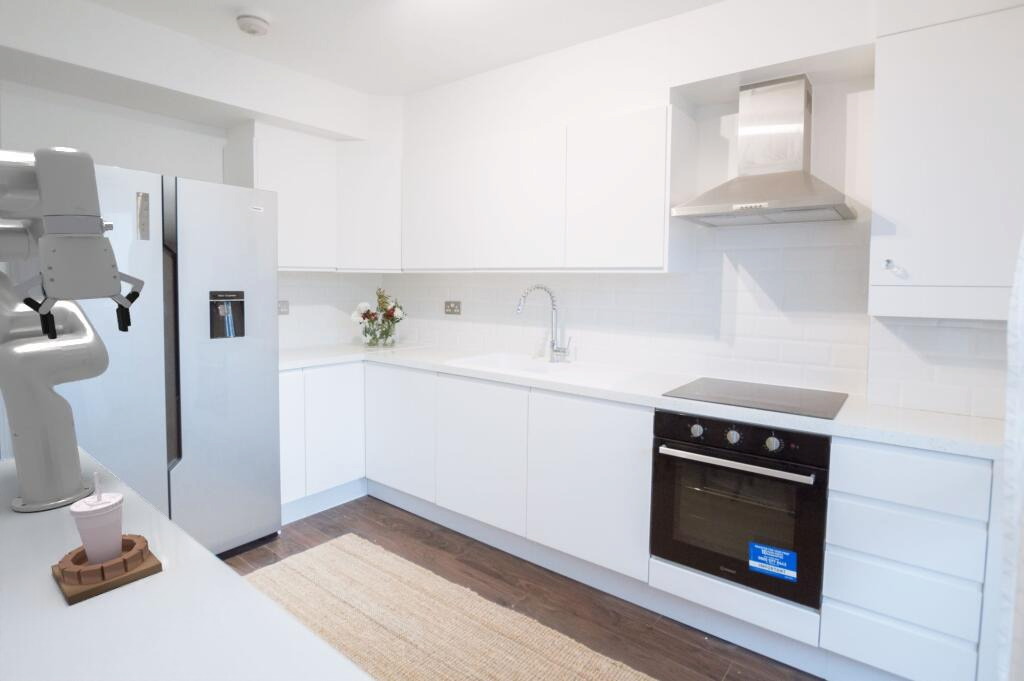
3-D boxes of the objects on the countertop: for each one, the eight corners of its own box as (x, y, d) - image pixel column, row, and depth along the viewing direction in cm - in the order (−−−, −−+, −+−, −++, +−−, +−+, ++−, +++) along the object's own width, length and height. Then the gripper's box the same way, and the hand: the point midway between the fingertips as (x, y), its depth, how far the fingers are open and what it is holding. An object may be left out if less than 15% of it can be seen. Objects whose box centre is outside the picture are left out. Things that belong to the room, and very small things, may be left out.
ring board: (52, 573, 84) (49, 553, 83) (138, 544, 92) (136, 525, 91) (69, 605, 76) (65, 583, 75) (162, 570, 84) (159, 550, 83)
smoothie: (105, 577, 80) (90, 482, 78) (67, 574, 81) (51, 480, 79) (143, 553, 86) (130, 465, 84) (107, 551, 88) (93, 463, 85)
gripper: (130, 230, 100) (143, 327, 103) (-1, 229, 88) (17, 340, 90) (142, 228, 95) (155, 330, 98) (5, 226, 83) (24, 343, 85)
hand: (89, 334), depth 94 cm, fingers open, 9 cm apart
